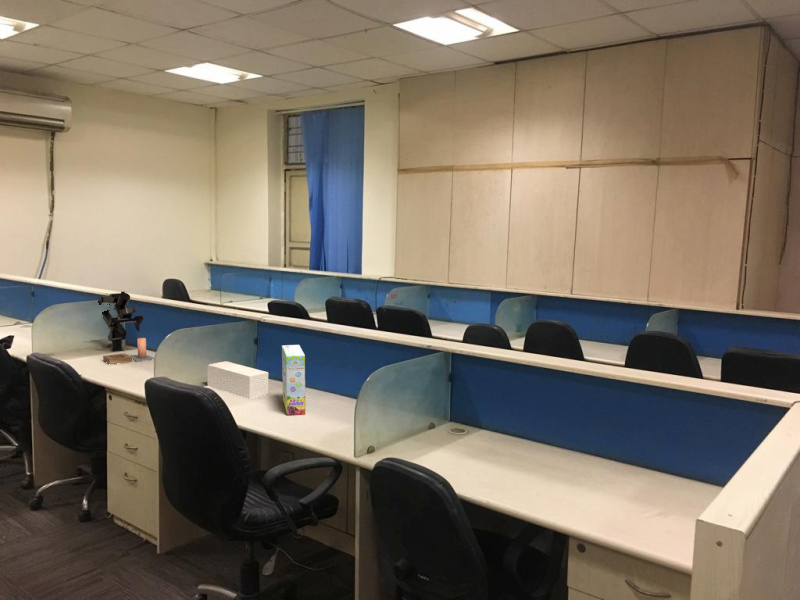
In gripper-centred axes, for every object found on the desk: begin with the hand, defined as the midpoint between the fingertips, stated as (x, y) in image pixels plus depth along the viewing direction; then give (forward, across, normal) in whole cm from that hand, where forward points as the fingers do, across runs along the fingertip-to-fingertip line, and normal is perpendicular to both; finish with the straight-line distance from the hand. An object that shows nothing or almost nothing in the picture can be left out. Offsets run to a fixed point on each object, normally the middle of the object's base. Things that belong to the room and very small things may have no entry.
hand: (131, 332), depth 362 cm
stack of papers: (+82, +4, -62) cm, 103 cm away
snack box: (+110, +6, -91) cm, 143 cm away
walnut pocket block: (+17, -12, +2) cm, 21 cm away
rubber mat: (+19, 0, +1) cm, 19 cm away
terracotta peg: (+18, 0, 0) cm, 18 cm away
